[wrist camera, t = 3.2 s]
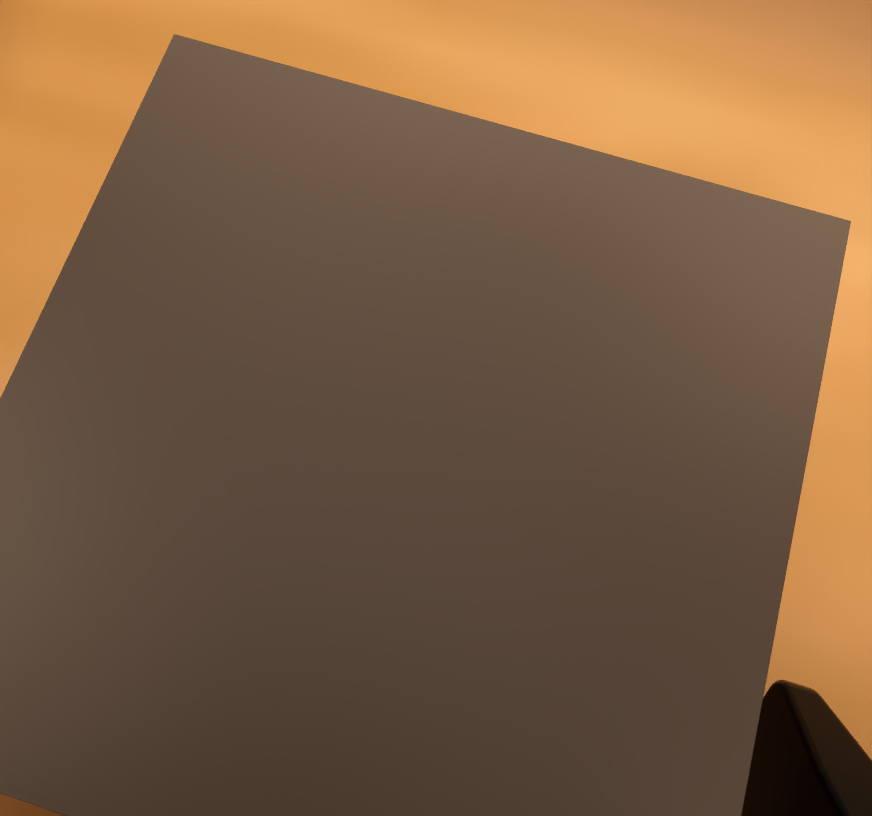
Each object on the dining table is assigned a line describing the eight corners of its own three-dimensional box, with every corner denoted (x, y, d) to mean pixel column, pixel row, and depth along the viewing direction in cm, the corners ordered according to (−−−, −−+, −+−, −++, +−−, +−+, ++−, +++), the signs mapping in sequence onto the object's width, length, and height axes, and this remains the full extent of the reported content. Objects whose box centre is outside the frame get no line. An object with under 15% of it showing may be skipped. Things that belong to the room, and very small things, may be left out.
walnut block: (491, 732, 17) (699, 1034, 4) (266, 659, 17) (-162, 735, 5) (552, 505, 18) (851, 221, 6) (342, 441, 18) (174, 34, 6)
